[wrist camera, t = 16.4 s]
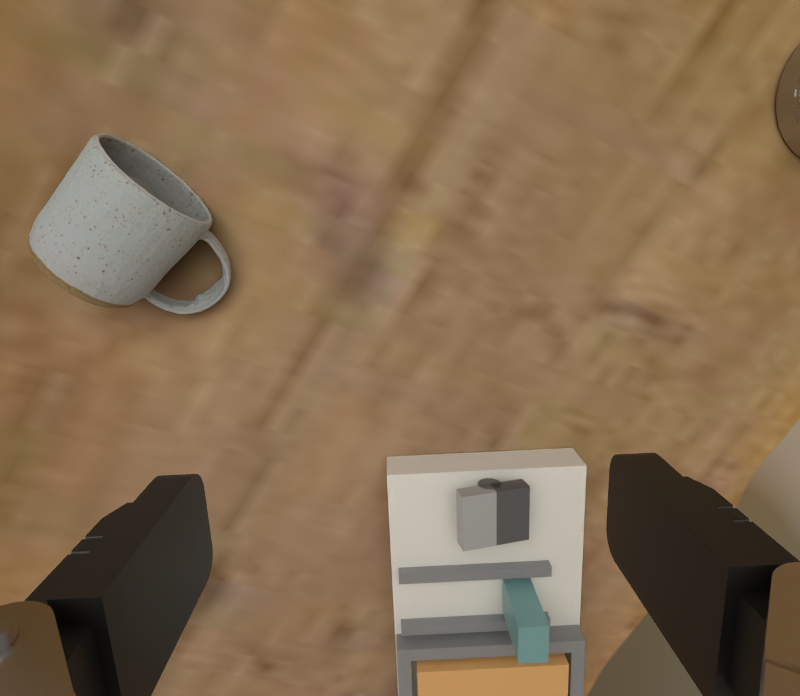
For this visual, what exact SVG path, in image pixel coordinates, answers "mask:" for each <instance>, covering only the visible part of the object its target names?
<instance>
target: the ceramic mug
mask: <svg viewBox="0 0 800 696" xmlns="http://www.w3.org/2000/svg"><path fill="white" fill-rule="evenodd" d="M212 222H213V219H212V216H211V214H210V212H209V210H208V209H207V207H206V206H205V204H204V203H203V201H202V200H201V199H200V198H199V197H198V196H197V195H196V194H195V193H194V192H193V191H192V190H191V189H190V187H189V186H188V185H187V184H186V183H185V182H184V181H182V180H181V179H180V178H179V177H178V176H177V175H175V174H174V173H173V172H172V171H171V170H170V169H168V168H167V167H166V166H165V165H163V164H162V163H160V162H159V161H158V160H156V159H155V158H154V157H152V156H151V155H149V154H148V153H146V152H145V151H143V150H142V149H140V148H139V147H137V146H136V145H133V144H131V143H129V142H127V141H125V140H124V139H121V138H118V137H116V136H113V135H109V134H105V133H99V134H96V135H94V136H93V137H92V138H91V139H90V140H89V142H88V143H87V145H86V146H85V148H84V149H83V151H82V152H81V154H80V155H79V157H78V159H77V160H76V161H75V163H74V164H73V165H72V167H71V168H70V170H69V171H68V173H67V174H66V176H65V177H64V179H63V180H62V182H61V183H60V185H59V186H58V188H57V189H56V191H55V192H54V194H53V195H52V197H51V198H50V199H49V201H48V202H47V204H46V205H45V207H44V208H43V209H42V211H41V212H40V214H39V215H38V216H37V218H36V220H35V222H34V224H33V227H32V230H31V232H30V235H29V239H28V247H29V250H30V253H31V255H32V257H33V259H34V261H35V263H36V264H37V266H38V267H39V268H40V269H41V270H42V271H43V272H44V274H45V275H46V276H47V277H49V278H50V279H51V280H52V281H53V282H55V283H56V284H57V285H59V286H60V287H61V288H63V289H64V290H66V291H68V292H69V293H71V294H73V295H75V296H76V297H78V298H80V299H82V300H85V301H87V302H90V303H92V304H95V305H99V306H103V307H110V308H124V307H128V306H131V305H133V304H135V303H136V302H137V301H139V300H140V299H146V300H148V301H149V302H150V303H152V304H154V305H155V306H156V307H159V308H161V309H163V310H166V311H169V312H173V313H177V314H192V313H197V312H201V311H204V310H206V309H208V308H210V307H211V306H213V305H214V304H216V303H217V302H218V301H219V300H220V299H221V298H222V297H223V296H224V295H225V293H226V292H227V290H228V288H229V286H230V281H231V268H230V262H229V258H228V255H227V253H226V251H225V249H224V248H223V246H222V245H221V243H220V242H219V241H218V239H217V238H216V237H215V236H214V235H213V234H212V233H211V232H210V231H209V230H208V229H209V228H210V227H211V225H212ZM198 240H204V241H205V242H207V243H208V244H209V245H210V246H211V247H212V249H213V250H214V252H215V253H216V255H217V256H218V258H219V259H220V261H221V264H222V269H223V275H222V277H221V278H220V279H219V280H218V281H217V282H216V283H215V284H214V285H213V286H212V287H211V288H210V289H208V290H207V291H205V292H204V293H202V294H198V295H197V297H196V299H195V300H191V301H182V300H176V299H173V298H170V297H167V296H165V295H163V294H161V293H159V292H157V291H155V290H154V289H153V288H154V287H155V286H156V285H157V284H158V283H159V282H160V281H161V279H162V278H163V277H164V276H165V274H167V272H168V271H169V270H170V269H171V268H172V267H173V266H174V265H175V264H176V263H177V262H178V261H179V260H180V259H181V258H182V257H183V256H184V255H185V254H186V253H187V252H188V251H189V250H190V249H191V248H192V247H193V246H194V245H195V243H196V242H197V241H198Z"/></svg>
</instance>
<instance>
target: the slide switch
mask: <svg viewBox="0 0 800 696" xmlns="http://www.w3.org/2000/svg"><path fill="white" fill-rule="evenodd" d="M502 610H503V614H504V617H505V621H506V624H507V628H508V631H509V635H510V638H511V641H512V645H513V648H514V652H515V655H516V659H517V662H518V664H525V663H543V662H548V656H549V624H548V621H547V619H546V616H545V614H544V611H543V609H542V606H541V604H540V601H539V599H538V596H537V594H536V591H535V588H534V586H533V583H532V581H531V578H515V579H503V588H502Z"/></svg>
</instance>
